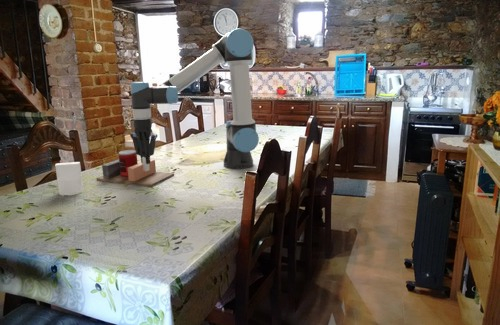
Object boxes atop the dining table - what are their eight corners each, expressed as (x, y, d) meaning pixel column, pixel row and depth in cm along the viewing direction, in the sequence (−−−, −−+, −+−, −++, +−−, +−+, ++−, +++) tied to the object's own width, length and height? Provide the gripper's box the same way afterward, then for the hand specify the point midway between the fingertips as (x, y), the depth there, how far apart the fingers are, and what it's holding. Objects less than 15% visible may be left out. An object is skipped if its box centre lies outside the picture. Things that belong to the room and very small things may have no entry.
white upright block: (57, 196, 147) (52, 167, 144) (61, 189, 155) (57, 161, 152) (81, 194, 149) (78, 165, 146) (85, 187, 158) (81, 160, 155)
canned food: (141, 172, 175) (139, 149, 172) (134, 177, 167) (132, 153, 165) (125, 172, 176) (123, 149, 173) (117, 177, 168) (115, 153, 165)
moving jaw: (155, 171, 176) (154, 159, 174) (134, 181, 161) (133, 168, 160) (150, 171, 177) (149, 159, 175) (128, 180, 162) (127, 167, 161)
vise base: (174, 175, 174) (173, 160, 172) (151, 186, 158) (150, 171, 156) (123, 170, 184) (121, 156, 182) (96, 180, 167) (95, 165, 166)
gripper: (160, 117, 163) (163, 169, 169) (135, 116, 167) (139, 167, 173) (150, 120, 156) (154, 174, 162) (124, 118, 160) (129, 171, 166)
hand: (146, 170), depth 167 cm, fingers closed
